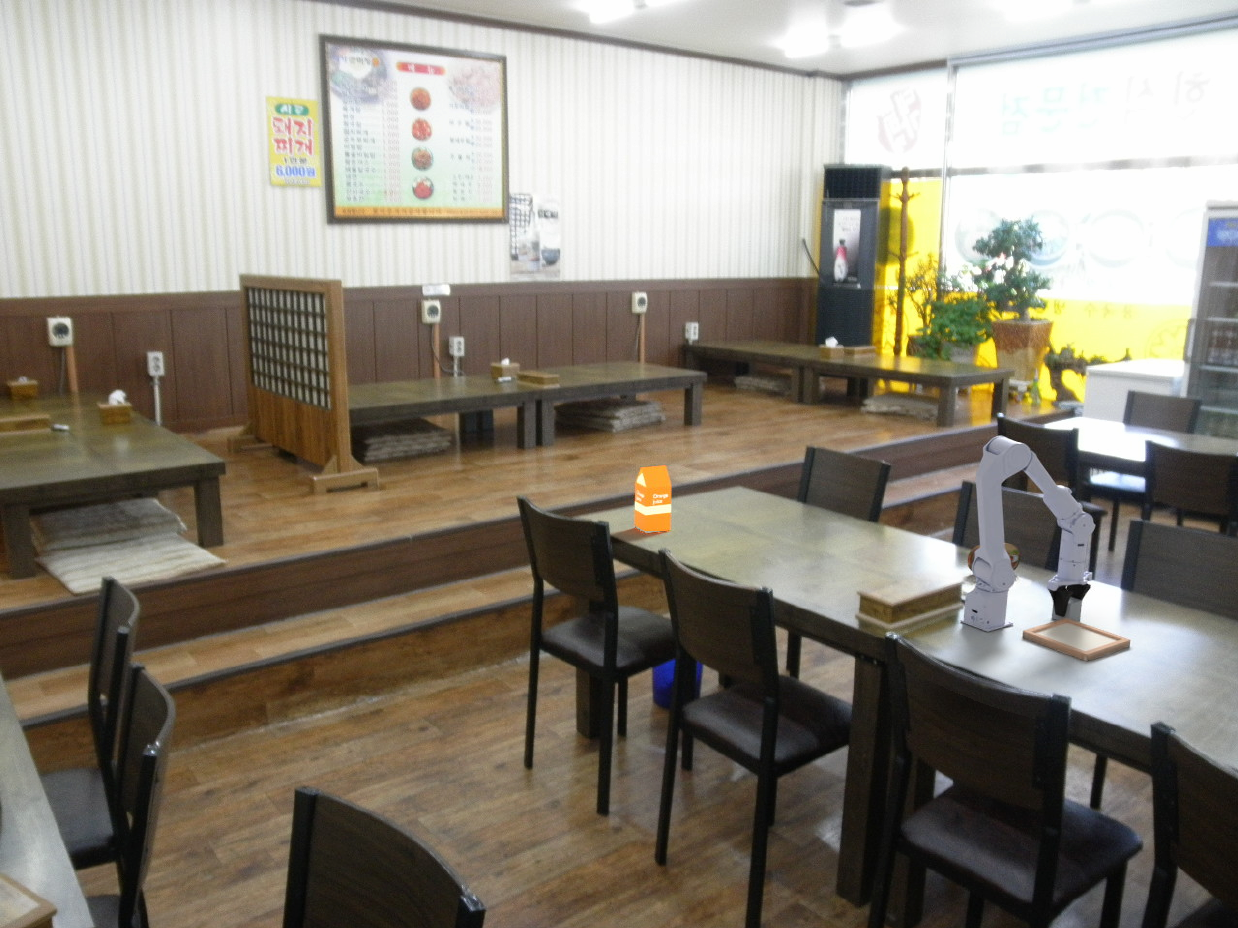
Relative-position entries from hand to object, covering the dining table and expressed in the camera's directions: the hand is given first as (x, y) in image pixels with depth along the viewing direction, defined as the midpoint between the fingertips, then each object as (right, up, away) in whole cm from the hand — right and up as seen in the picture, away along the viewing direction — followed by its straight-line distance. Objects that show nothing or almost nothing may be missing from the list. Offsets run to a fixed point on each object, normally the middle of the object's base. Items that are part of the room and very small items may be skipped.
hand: (1066, 613), depth 246 cm
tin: (-5, +6, +34) cm, 35 cm away
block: (0, -1, 0) cm, 1 cm away
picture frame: (-4, -4, -14) cm, 15 cm away
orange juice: (-96, +15, +73) cm, 122 cm away
